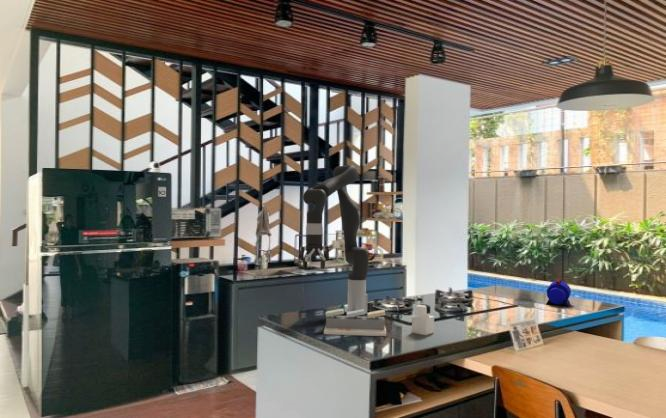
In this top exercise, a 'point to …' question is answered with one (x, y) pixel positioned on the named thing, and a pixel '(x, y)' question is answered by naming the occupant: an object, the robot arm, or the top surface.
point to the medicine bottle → (423, 320)
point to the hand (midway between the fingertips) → (313, 269)
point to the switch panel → (354, 332)
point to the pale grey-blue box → (355, 313)
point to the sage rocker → (334, 312)
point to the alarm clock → (558, 293)
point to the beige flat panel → (376, 314)
